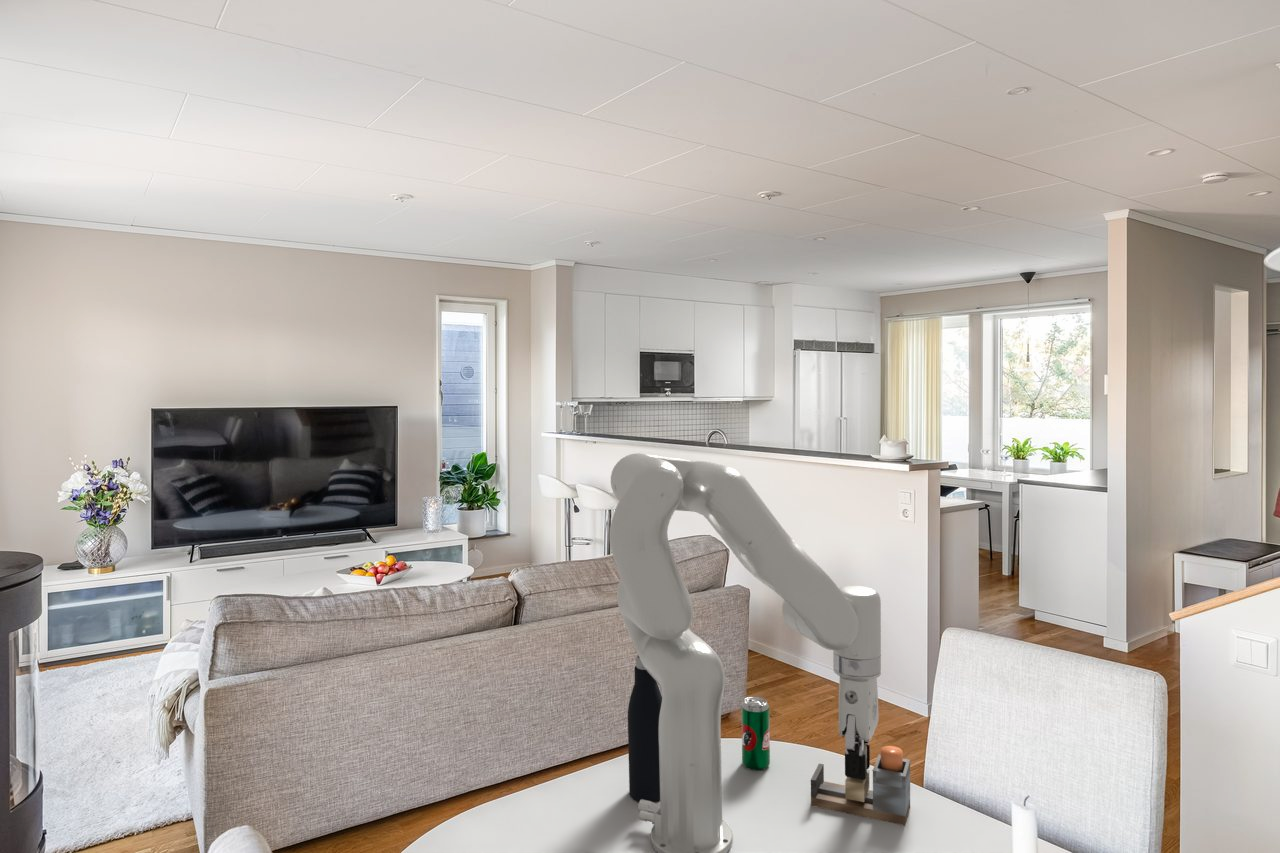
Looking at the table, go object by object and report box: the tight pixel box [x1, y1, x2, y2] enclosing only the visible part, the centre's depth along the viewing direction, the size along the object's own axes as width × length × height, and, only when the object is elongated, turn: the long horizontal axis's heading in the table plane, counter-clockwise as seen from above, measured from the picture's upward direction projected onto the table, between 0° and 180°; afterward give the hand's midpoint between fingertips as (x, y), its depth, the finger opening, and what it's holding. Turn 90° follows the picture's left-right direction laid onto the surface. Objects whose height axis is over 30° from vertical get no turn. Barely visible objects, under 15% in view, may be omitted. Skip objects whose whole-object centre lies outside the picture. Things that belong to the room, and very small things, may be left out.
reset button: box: [880, 745, 904, 771], centre depth 130 cm, size 3×3×3 cm
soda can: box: [741, 696, 771, 771], centre depth 147 cm, size 5×5×12 cm
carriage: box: [844, 742, 870, 802], centre depth 133 cm, size 3×5×8 cm, turn 155°
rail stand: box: [810, 753, 911, 827], centre depth 133 cm, size 15×6×8 cm, turn 65°
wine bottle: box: [627, 654, 662, 803], centre depth 138 cm, size 6×6×30 cm
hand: (857, 771), depth 133 cm, fingers closed on carriage, 3 cm apart
